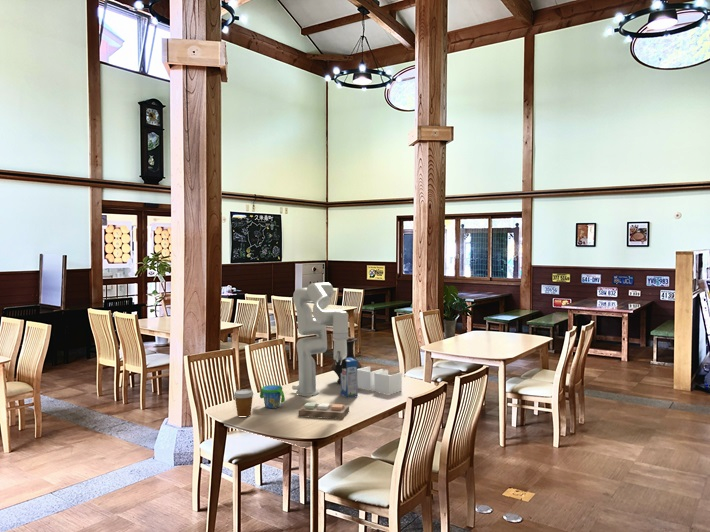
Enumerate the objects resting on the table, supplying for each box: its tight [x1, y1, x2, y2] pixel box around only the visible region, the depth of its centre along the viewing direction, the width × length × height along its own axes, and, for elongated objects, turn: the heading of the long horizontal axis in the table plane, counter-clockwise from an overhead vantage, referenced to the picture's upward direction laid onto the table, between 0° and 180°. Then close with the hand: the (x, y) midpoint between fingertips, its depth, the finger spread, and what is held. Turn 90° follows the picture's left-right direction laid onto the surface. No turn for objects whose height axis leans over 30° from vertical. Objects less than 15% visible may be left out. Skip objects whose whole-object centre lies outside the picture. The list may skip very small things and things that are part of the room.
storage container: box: [357, 366, 403, 395], centre depth 314 cm, size 25×11×11 cm, turn 46°
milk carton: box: [340, 357, 359, 399], centre depth 302 cm, size 10×6×20 cm, turn 22°
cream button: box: [318, 402, 331, 410], centre depth 268 cm, size 5×5×3 cm
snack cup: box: [259, 384, 286, 409], centre depth 282 cm, size 16×10×10 cm
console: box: [297, 403, 350, 420], centre depth 268 cm, size 23×12×3 cm, turn 77°
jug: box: [330, 336, 363, 385], centre depth 332 cm, size 21×18×30 cm
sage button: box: [303, 402, 318, 409], centre depth 270 cm, size 5×5×3 cm
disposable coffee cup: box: [233, 388, 254, 417], centre depth 267 cm, size 10×10×12 cm
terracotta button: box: [331, 403, 345, 411], centre depth 267 cm, size 5×5×3 cm
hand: (341, 370), depth 268 cm, fingers open, 9 cm apart
